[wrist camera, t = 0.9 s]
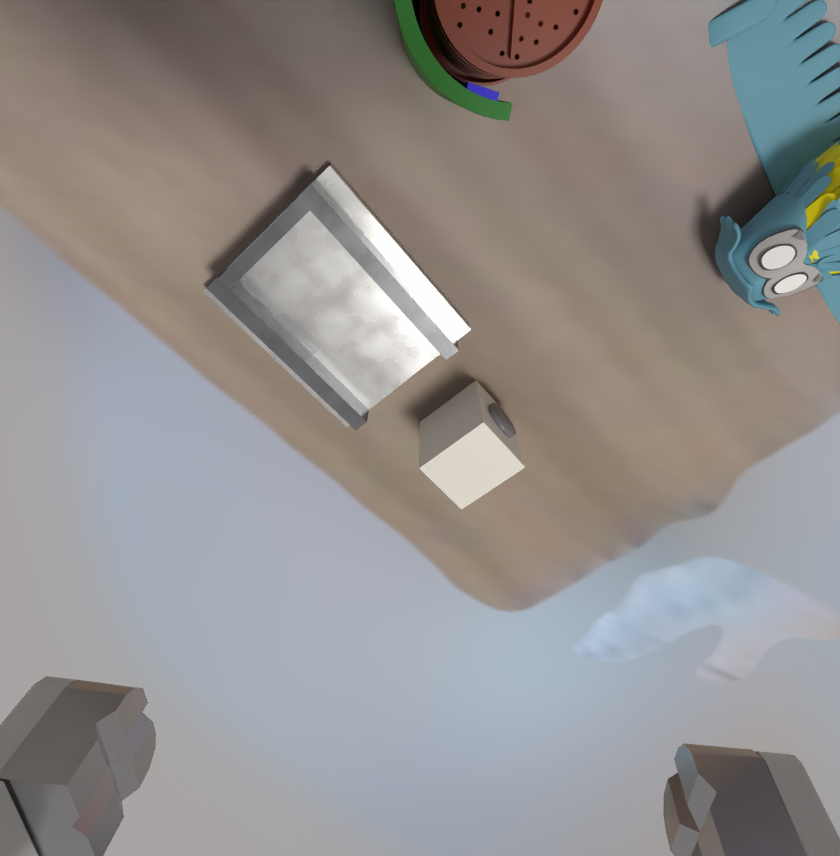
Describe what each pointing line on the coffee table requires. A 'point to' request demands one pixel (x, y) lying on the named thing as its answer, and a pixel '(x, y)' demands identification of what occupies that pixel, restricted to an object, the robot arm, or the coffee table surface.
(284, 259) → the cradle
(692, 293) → the coffee table surface
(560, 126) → the coffee table surface
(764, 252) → the owl figurine
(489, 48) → the motor
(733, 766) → the robot arm
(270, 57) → the coffee table surface
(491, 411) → the cream rectangular block
